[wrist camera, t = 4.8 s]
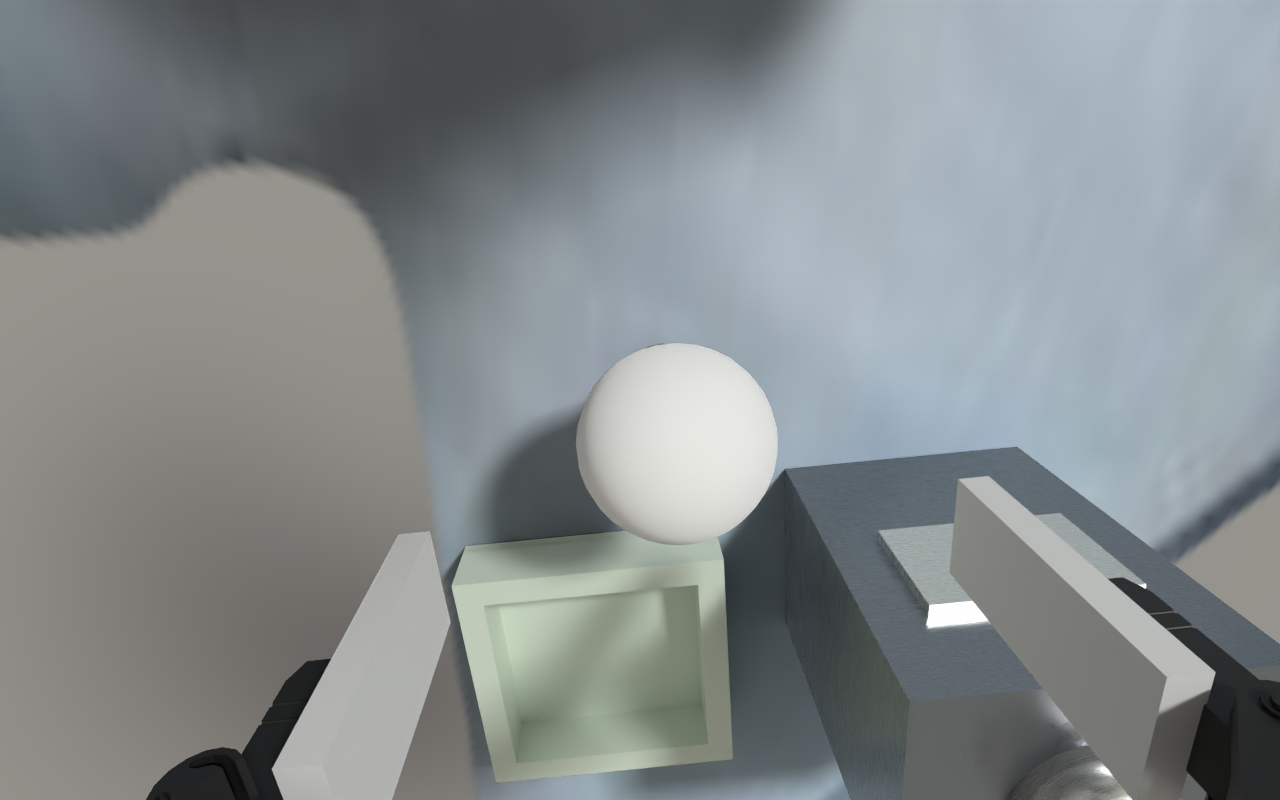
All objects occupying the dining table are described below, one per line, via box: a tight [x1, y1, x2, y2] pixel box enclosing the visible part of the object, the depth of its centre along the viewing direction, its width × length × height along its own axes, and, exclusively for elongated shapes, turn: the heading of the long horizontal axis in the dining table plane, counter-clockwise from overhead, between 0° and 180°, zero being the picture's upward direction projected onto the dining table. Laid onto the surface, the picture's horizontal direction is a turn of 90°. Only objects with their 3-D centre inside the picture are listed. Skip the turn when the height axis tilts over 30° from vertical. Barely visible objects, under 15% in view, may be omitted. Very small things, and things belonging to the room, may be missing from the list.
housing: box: [785, 447, 1280, 800], centre depth 26 cm, size 9×11×16 cm
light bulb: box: [576, 343, 778, 545], centre depth 24 cm, size 7×7×11 cm
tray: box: [452, 531, 733, 783], centre depth 33 cm, size 12×12×3 cm
